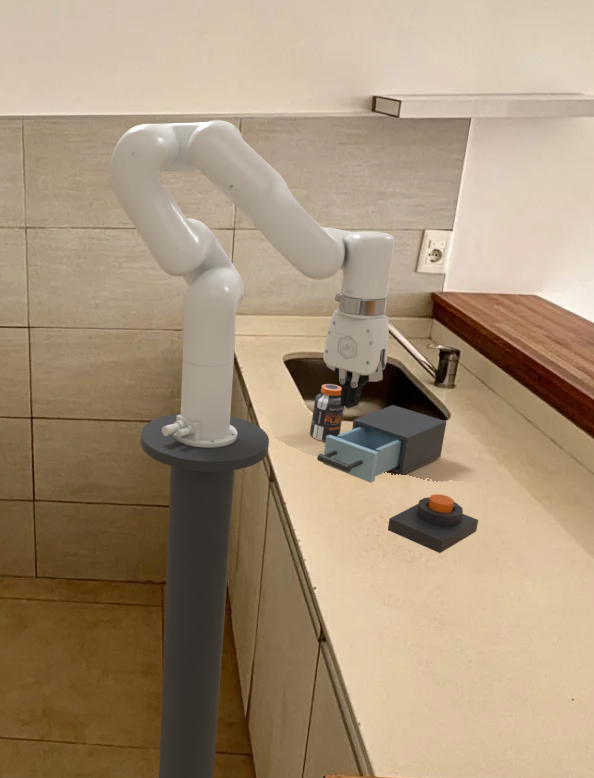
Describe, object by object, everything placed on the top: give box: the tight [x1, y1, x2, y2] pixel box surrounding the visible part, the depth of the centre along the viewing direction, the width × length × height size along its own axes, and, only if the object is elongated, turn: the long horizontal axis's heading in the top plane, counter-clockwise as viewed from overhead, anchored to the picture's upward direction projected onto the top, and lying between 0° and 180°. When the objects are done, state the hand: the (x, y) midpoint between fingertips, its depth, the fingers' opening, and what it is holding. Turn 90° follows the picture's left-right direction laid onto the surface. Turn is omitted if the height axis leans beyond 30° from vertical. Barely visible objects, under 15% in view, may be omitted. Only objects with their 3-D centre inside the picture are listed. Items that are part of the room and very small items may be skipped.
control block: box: [387, 496, 479, 554], centre depth 124 cm, size 11×9×4 cm
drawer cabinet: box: [351, 404, 448, 476], centre depth 151 cm, size 14×12×8 cm
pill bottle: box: [309, 383, 345, 442], centre depth 160 cm, size 6×6×11 cm
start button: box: [428, 493, 455, 513], centre depth 124 cm, size 4×4×2 cm
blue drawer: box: [316, 426, 403, 484], centre depth 144 cm, size 17×10×6 cm, turn 127°
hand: (349, 405), depth 137 cm, fingers closed
